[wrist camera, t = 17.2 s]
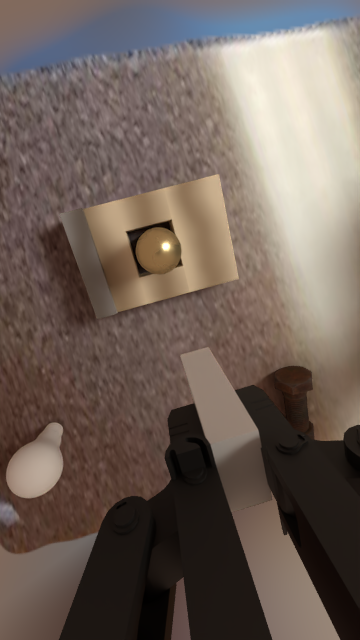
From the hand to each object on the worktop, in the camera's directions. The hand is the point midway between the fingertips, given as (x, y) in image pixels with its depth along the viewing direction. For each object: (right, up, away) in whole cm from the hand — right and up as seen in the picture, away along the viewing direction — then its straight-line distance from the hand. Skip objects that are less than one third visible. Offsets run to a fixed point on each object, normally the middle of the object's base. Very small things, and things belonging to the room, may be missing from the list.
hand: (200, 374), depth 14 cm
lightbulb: (-20, -13, +27) cm, 36 cm away
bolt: (+17, -12, +31) cm, 37 cm away
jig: (-4, +12, +22) cm, 25 cm away
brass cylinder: (-5, +12, +22) cm, 25 cm away
